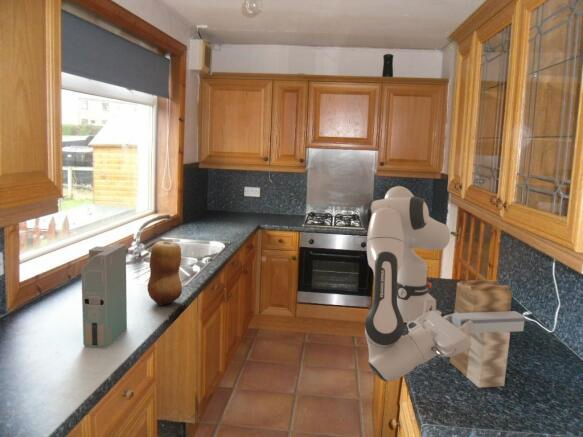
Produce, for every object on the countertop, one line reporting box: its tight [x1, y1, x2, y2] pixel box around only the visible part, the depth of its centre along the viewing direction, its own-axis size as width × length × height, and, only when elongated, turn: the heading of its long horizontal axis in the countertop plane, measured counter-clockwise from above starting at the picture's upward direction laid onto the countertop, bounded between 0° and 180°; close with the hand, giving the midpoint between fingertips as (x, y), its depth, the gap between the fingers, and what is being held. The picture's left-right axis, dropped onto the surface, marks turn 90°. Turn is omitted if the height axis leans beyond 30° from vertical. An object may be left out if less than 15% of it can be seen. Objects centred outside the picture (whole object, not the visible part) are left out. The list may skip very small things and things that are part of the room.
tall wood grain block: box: [449, 279, 513, 389], centre depth 152 cm, size 12×16×27 cm
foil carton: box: [451, 310, 526, 334], centre depth 145 cm, size 20×4×4 cm, turn 102°
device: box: [80, 243, 128, 349], centre depth 166 cm, size 16×8×30 cm, turn 176°
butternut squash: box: [147, 240, 183, 306], centre depth 202 cm, size 14×13×25 cm
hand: (465, 317), depth 143 cm, fingers closed on foil carton, 4 cm apart
